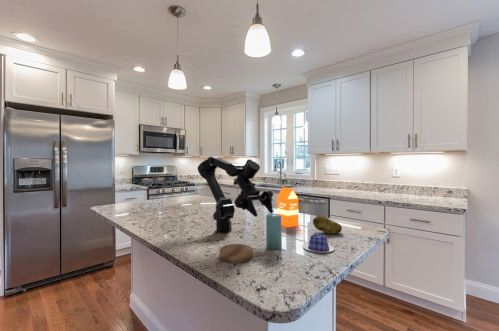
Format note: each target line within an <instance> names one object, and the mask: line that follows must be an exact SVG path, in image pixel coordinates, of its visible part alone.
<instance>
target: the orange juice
mask: <svg viewBox="0 0 499 331" xmlns="http://www.w3.org/2000/svg"><path fill="white" fill-rule="evenodd" d="M276 198H277V199H276V200H277V201H276V202H277V203H276V204H277V205H276V206H277V208H276V210H277V212H276V214H280V215H282V227H283V226H284V227H286V228H291V227H296V226H299V211H300V210H299V197H298V195H297V193H296V192H295V190H294V188H291V187H286V186H285V187H282V188H281V190H280V192H279V194H278V195H277V197H276Z"/></svg>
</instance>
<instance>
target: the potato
mask: <svg viewBox="0 0 499 331" xmlns="http://www.w3.org/2000/svg"><path fill="white" fill-rule="evenodd" d="M312 223H313V226H314V227H315V229H316V230H318V231H320V232H323V233H325V234H326V235H335V234H339V233H341V232H342V229H343V228H342V225H341V224H340V223H338V222H335V221H333V220H331V219H330V218H328V217H326V216H323V215H317V216H315V217H314V218H313V220H312Z"/></svg>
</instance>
